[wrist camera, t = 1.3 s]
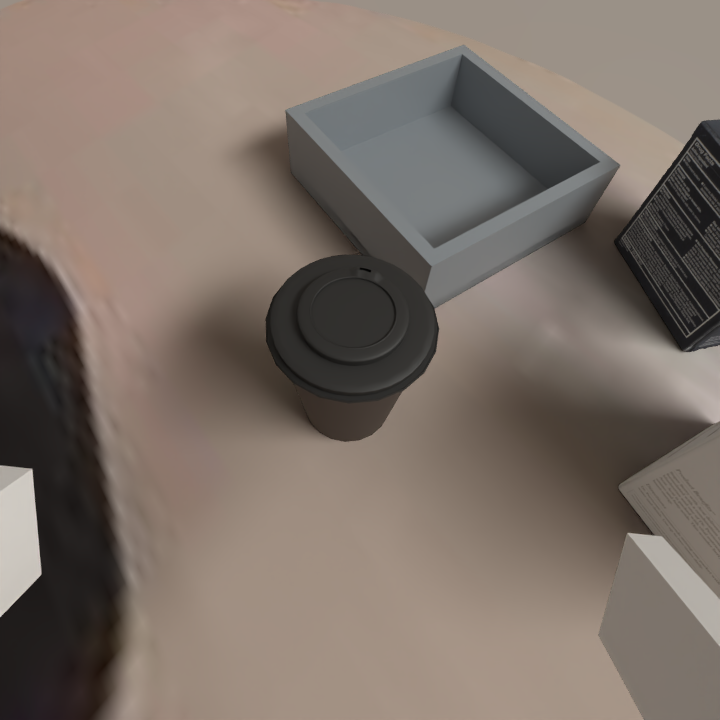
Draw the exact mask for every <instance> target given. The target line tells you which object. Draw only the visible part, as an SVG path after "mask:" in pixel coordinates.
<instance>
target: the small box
mask: <svg viewBox="0 0 720 720" xmlns="http://www.w3.org/2000/svg"><path fill="white" fill-rule="evenodd" d="M614 242H615V244H616V246H617V248H618V249H619V251H620V252H621V254H622V255H623V257H624V259H625V260H626V262H627V263H628V265H629V267H630V268H631V270H632V271H633V273H634V274H635V276H636V278H637V279H638V281H639V282H640V284H641V285H642V287H643V289H644V290H645V292H646V293H647V295H648V297H649V298H650V300H651V301H652V303H653V304H654V306H655V308H656V309H657V311H658V312H659V314H660V315H661V317H662V319H663V320H664V322H665V323H666V325H667V327H668V328H669V330H670V331H671V333H672V334H673V336H674V338H675V339H676V341H677V342H678V344H679V345H680V347H681V349H682V350H683V351H686V352H691V351H696V350H698V349H702V348H704V349H706V348H707V347H712V346H718V345H720V120H707V121H702V122H701V123H700V124H699V126H698V127H697V128H696V130H695V131H694V133H693V135H692V137H691V138H690V140H689V141H688V142H687V144H686V145H685V146H684V148H683V150H682V151H681V152H680V154H679V155H678V157H677V158H676V160H675V161H674V162H673V163H672V165H671V167H670V168H669V169H668V170H667V172H666V173H665V174H664V175H663V176H662V178H661V179H660V181H659V182H658V184H657V185H656V186H655V188H654V189H653V190H652V192H651V193H650V194H649V196H648V197H647V198H646V200H645V201H644V203H643V204H642V205H641V207H640V208H639V210H638V211H637V212H636V213H635V215H634V216H633V217H632V219H631V220H630V222H629V223H628V224H627V225H626V227H625V228H624V229H623V231H622V232H621V233H620V235H619V236H618V237H617V238H616V239H615V241H614Z"/></svg>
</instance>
